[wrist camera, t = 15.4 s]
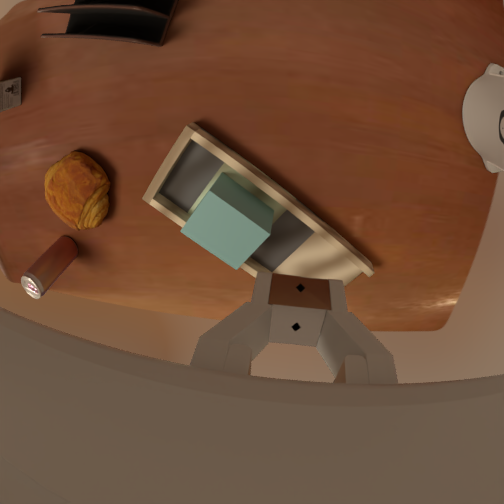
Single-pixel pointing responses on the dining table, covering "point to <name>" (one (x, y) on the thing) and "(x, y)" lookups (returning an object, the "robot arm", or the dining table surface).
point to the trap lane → (268, 191)
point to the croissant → (78, 191)
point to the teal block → (230, 222)
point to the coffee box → (10, 93)
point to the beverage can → (49, 267)
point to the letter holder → (117, 20)
